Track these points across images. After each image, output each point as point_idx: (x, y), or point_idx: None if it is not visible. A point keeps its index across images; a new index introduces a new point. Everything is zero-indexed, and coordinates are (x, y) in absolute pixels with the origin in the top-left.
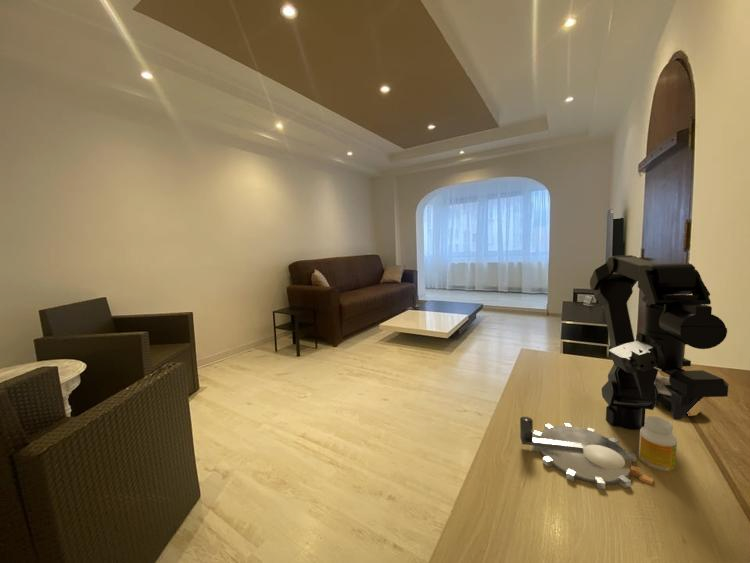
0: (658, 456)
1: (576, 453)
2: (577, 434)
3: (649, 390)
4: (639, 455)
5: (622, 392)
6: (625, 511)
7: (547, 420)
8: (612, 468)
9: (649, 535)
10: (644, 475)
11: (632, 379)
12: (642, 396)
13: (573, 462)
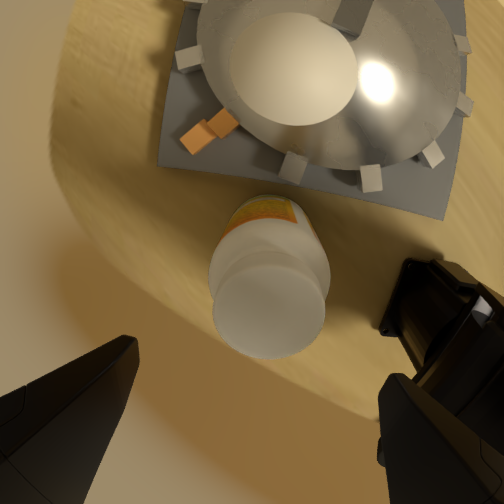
0: (230, 223)
1: (322, 3)
2: (418, 84)
3: (390, 443)
4: (293, 204)
5: (488, 340)
6: (145, 34)
7: (501, 113)
8: (231, 49)
9: (92, 47)
10: (207, 139)
11: (494, 425)
12: (397, 381)
13: None
